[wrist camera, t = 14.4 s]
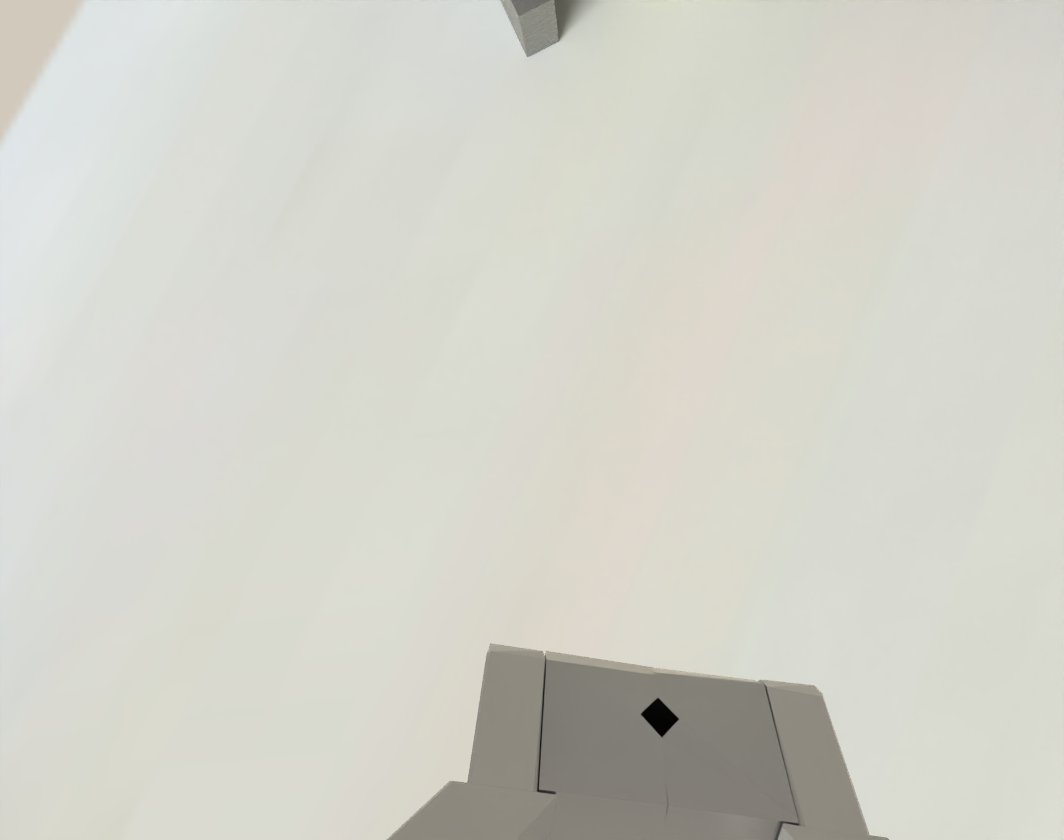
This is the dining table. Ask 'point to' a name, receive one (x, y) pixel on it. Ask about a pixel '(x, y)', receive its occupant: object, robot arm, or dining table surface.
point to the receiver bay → (533, 23)
